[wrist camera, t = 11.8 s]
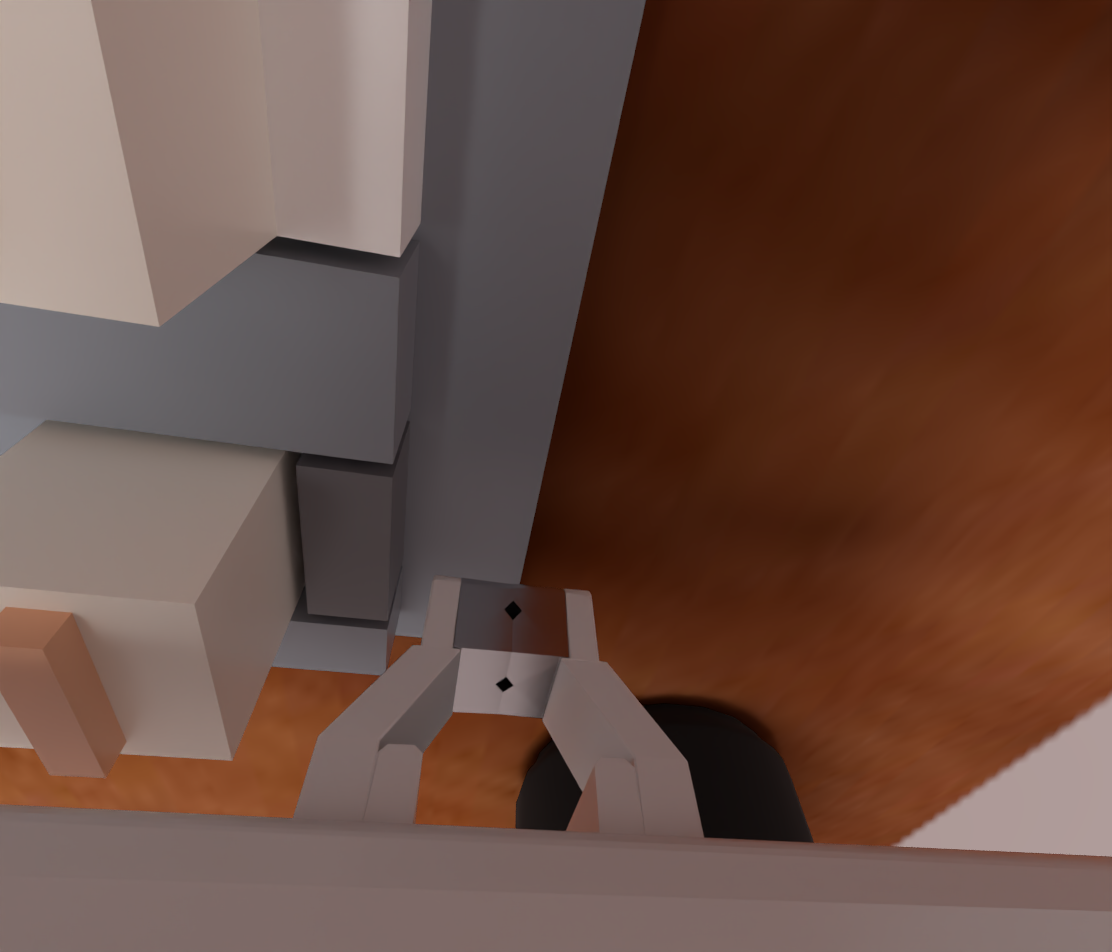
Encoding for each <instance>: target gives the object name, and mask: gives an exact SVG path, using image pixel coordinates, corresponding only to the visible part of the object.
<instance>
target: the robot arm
mask: <svg viewBox="0 0 1112 952" xmlns="http://www.w3.org/2000/svg"><path fill="white" fill-rule="evenodd" d="M460 585H461V587H460ZM459 593H460V595H459ZM458 601H459V602H458ZM457 609H458V610H457ZM452 712H468V713H490V714H504V715H514V716H524V717H534V718H543V720H542V721H543V723H544V724H545V726H546V728H547V730H548V732H549V733H550V735H551V737H552V739H553V740H554V742H555V744H556V746H557V748H558V749H559V751H560V753H561V755H562V756H563V758H564V760H565V762H566V764H567V765H568V767H569V769H570V771H571V772H572V774H573V776H574V778H575V780H576V781H577V783H578V785H579V787H580V788H581V790H582V792H583V793H582V795H581V797H580V799H579V802H578V804H577V806H576V809H575V811H574V813H573V816H572V818H571V820H570V822H569V825H568V827H567V829H566V831H556V830H534V829H513V828H491V827H470V826H448V825H426V824H415V821H416V811H417V802H418V793H419V784H420V775H421V766H422V756H423V753H424V751H425V750H426V749H427V747H428V746H429V745H430V743H431V742H432V741H433V739H434V738H435V737H436V735H437V734H438V733H439V731H440V730H441V729H442V727H443V726H444V725H445V723H446V722H447V721H448V719H449V718H450V717H451V715H452ZM0 952H1112V857H1107V856H1086V855H1064V854H1043V853H1022V852H1001V851H979V850H958V849H936V848H915V847H914V848H913V847H894V846H873V845H851V844H830V843H808V842H787V841H766V840H744V839H723V838H704V834H703V830H702V825H701V821H700V816H699V811H698V807H697V802H696V798H695V793H694V789H693V784H692V779H691V775H690V770H689V766H688V761H687V760H686V759H685V758H684V756H683V755H682V754H681V753H680V751H679V750H678V749H677V748H676V747H675V745H674V744H673V743H672V742H671V740H670V739H669V738H668V737H667V735H666V734H665V733H664V732H663V731H662V729H661V728H660V727H659V726H658V724H657V723H656V722H655V721H654V720H653V718H652V717H651V716H650V715H649V713H648V712H647V711H646V710H645V708H644V707H643V706H642V705H641V704H640V702H639V701H638V700H637V699H636V697H635V696H634V695H633V694H632V692H631V691H630V690H629V689H628V688H627V686H626V685H625V684H624V683H623V681H622V680H621V679H620V678H619V676H618V675H617V674H616V673H615V672H614V670H613V669H612V668H611V667H610V665H609V664H608V663H607V662H602V661H599V655H598V646H597V638H596V629H595V621H594V612H593V603H592V595H591V594H590V592H589V591H584V590H574V589H562V588H554V587H543V586H532V585H522V584H507V583H499V582H492V581H484V580H476V579H468V578H462V581H461V578H457V577H449V576H441V575H434V578H433V581H432V586H431V591H430V597H429V602H428V608H427V613H426V619H425V625H424V630H423V636H422V641H421V646H420V645H412V646H411V647H410V648H409V649H408V650H407V651H406V652H405V653H404V654H403V655H402V656H401V657H400V658H399V659H398V660H397V661H396V662H395V663H394V664H392V665H391V666H390V667H389V668H388V669H387V670H386V671H385V672H384V673H383V674H382V675H381V676H380V677H379V678H378V679H377V680H376V681H375V682H374V683H373V684H372V685H371V686H370V687H369V688H368V689H367V690H366V691H365V692H363V693H362V694H361V695H360V696H359V697H358V698H357V699H356V700H355V701H354V702H353V703H352V704H351V705H350V706H349V707H348V708H347V709H346V710H345V711H344V712H343V713H342V714H341V715H340V716H339V717H338V718H337V719H336V720H334V721H333V722H332V723H331V724H330V725H329V726H328V727H327V728H326V729H325V730H324V731H323V732H322V733H321V734H320V735H319V736H318V739H317V742H316V745H315V748H314V752H313V755H312V758H311V761H310V764H309V768H308V771H307V774H306V777H305V781H304V784H303V787H302V790H301V793H300V797H299V800H298V803H297V806H296V810H295V813H294V816H293V818H277V817H256V816H235V815H213V814H192V813H171V812H149V811H128V810H107V809H86V808H65V807H44V806H23V805H2V804H0Z"/></svg>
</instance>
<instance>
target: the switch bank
mask: <svg viewBox="0 0 1112 952" xmlns="http://www.w3.org/2000/svg"><path fill="white" fill-rule="evenodd" d="M645 2H646V0H258V9H259V21H260V33H261V45H262V58H263V70H264V82H265V94H266V107H267V119H268V131H269V143H270V156H271V168H272V180H273V192H274V205H275V217H276V229H277V236H276V237H275V238H274V239H272V240H271V241H270V242H268V243H267V244H266V245H265V246H263V247H262V248H261V249H259V250H258V251H257V252H256V253H254V254H253V255H252V256H250V257H249V258H248V259H247V260H245V261H244V262H243V263H241V264H240V265H239V266H237V267H236V268H235V269H234V270H232V271H231V272H230V273H228V274H227V275H226V276H225V277H223V278H222V279H221V280H219V281H218V282H217V283H216V284H214V285H213V286H212V287H210V288H209V289H208V290H206V291H205V292H204V293H203V294H201V295H200V296H199V297H197V298H196V299H195V300H194V301H192V302H191V303H190V304H188V305H187V306H186V307H185V308H183V309H182V310H181V311H179V312H178V313H177V314H175V315H174V316H173V317H172V318H170V319H169V320H168V321H166V322H165V323H164V324H163V325H161V326H160V327H157V326H150V325H144V324H137V323H130V322H124V321H117V320H111V319H104V318H98V317H91V316H84V315H78V314H71V313H65V312H58V311H52V310H45V309H38V308H32V307H25V306H19V305H12V304H5V303H0V456H1V455H3V454H4V453H5V452H6V451H8V450H9V449H10V448H11V447H13V446H14V445H15V444H17V443H18V442H19V441H20V440H22V439H23V438H24V437H25V436H27V435H28V434H29V433H31V432H32V431H33V430H34V429H36V428H37V427H38V426H39V425H41V424H42V423H43V422H45V421H46V420H53V421H61V422H68V423H76V424H84V425H92V426H99V427H107V428H115V429H123V430H130V431H138V432H146V433H154V434H161V435H169V436H177V437H185V438H192V439H200V440H208V441H216V442H223V443H231V444H239V445H247V446H254V447H262V448H270V449H278V450H285V451H293V452H301V453H302V455H301V457H300V459H299V460H298V462H297V464H296V475H297V487H298V499H299V511H300V524H301V536H302V548H303V560H304V573H305V586H304V588H303V591H302V593H301V595H300V598H299V600H298V603H297V605H296V608H295V610H294V612H293V615H292V617H291V620H290V622H289V624H288V627H287V629H286V632H285V634H284V637H283V639H282V641H281V644H280V646H279V649H278V651H277V654H276V656H275V658H274V661H273V663H272V667H285V668H297V669H309V670H321V671H334V672H346V673H358V674H371V675H382V674H383V673H384V672H385V671H386V670H387V668H388V663H389V659H390V654H391V650H392V646H393V641H394V637H395V635H399V636H410V637H421V638H422V636H423V630H424V625H425V619H426V613H427V608H428V602H429V597H430V591H431V586H432V581H433V578H434V575H441V576H449V577H457V578H461V581H462V578H468V579H476V580H484V581H492V582H499V583H507V584H520V580H521V575H522V570H523V566H524V561H525V557H526V552H527V547H528V543H529V538H530V533H531V529H532V524H533V520H534V515H535V510H536V506H537V501H538V496H539V492H540V487H541V483H542V478H543V473H544V469H545V464H546V459H547V455H548V450H549V446H550V441H551V436H552V432H553V427H554V422H555V418H556V413H557V409H558V404H559V399H560V395H561V390H562V385H563V381H564V376H565V372H566V367H567V362H568V358H569V353H570V348H571V344H572V339H573V335H574V330H575V325H576V321H577V316H578V311H579V307H580V302H581V298H582V293H583V288H584V284H585V279H586V274H587V270H588V265H589V261H590V256H591V251H592V247H593V242H594V237H595V233H596V228H597V224H598V219H599V214H600V210H601V205H602V201H603V196H604V191H605V187H606V182H607V177H608V173H609V168H610V164H611V159H612V154H613V150H614V145H615V140H616V136H617V131H618V127H619V122H620V117H621V113H622V108H623V103H624V99H625V94H626V90H627V85H628V80H629V76H630V71H631V66H632V62H633V57H634V53H635V48H636V43H637V39H638V34H639V29H640V25H641V20H642V16H643V11H644V6H645ZM460 587H461V585H460ZM459 595H460V593H459ZM458 602H459V601H458ZM457 610H458V609H457Z"/></svg>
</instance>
